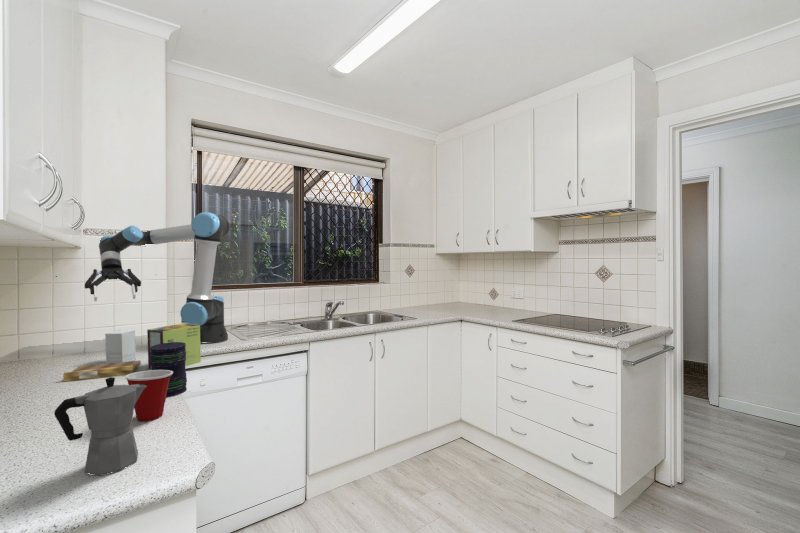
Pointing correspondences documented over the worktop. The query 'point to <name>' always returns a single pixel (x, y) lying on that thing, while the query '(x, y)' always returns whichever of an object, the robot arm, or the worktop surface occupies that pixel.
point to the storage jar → (171, 364)
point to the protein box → (177, 340)
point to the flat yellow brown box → (102, 370)
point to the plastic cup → (150, 393)
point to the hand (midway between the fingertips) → (115, 298)
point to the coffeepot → (105, 425)
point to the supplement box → (120, 346)
